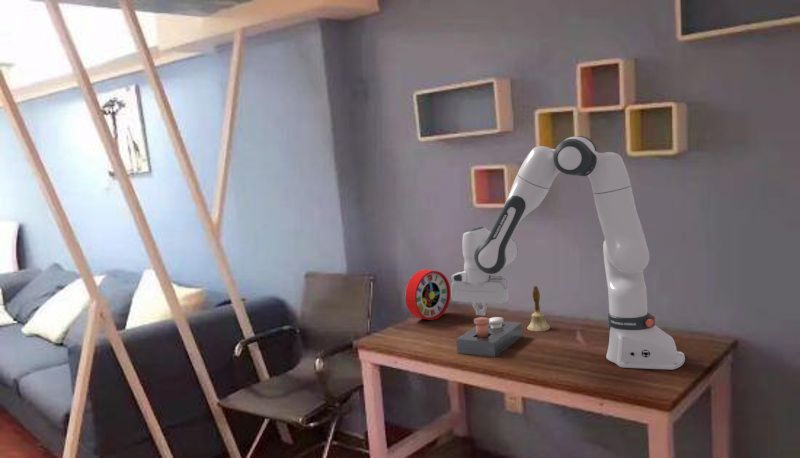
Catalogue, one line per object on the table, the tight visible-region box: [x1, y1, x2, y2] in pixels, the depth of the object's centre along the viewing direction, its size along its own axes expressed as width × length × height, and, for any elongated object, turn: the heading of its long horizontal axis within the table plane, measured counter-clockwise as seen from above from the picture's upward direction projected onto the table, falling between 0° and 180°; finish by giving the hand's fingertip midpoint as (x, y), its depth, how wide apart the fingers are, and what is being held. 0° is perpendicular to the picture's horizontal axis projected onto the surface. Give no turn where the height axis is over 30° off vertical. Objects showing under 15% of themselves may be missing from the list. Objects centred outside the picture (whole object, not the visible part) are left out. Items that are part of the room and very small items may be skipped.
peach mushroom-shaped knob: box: [473, 316, 489, 338], centre depth 219 cm, size 5×5×6 cm
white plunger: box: [488, 316, 504, 329], centre depth 228 cm, size 5×5×6 cm
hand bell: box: [527, 285, 551, 333], centre depth 236 cm, size 8×8×16 cm
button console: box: [455, 320, 523, 358], centre depth 224 cm, size 14×23×5 cm, turn 147°
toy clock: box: [404, 269, 451, 321], centre depth 263 cm, size 20×6×20 cm, turn 131°
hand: (480, 315), depth 218 cm, fingers closed
